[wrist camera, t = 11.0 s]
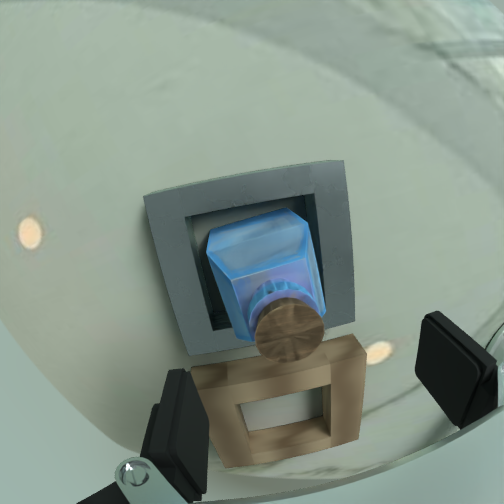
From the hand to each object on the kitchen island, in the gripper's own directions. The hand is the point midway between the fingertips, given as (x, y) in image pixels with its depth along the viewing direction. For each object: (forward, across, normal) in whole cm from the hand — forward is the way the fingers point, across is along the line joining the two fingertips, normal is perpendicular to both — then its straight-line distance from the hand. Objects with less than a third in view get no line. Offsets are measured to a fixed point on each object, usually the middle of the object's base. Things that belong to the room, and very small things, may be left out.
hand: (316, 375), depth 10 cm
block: (+14, +1, -1) cm, 15 cm away
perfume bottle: (+15, +1, 0) cm, 15 cm away
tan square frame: (+15, +1, +16) cm, 22 cm away
